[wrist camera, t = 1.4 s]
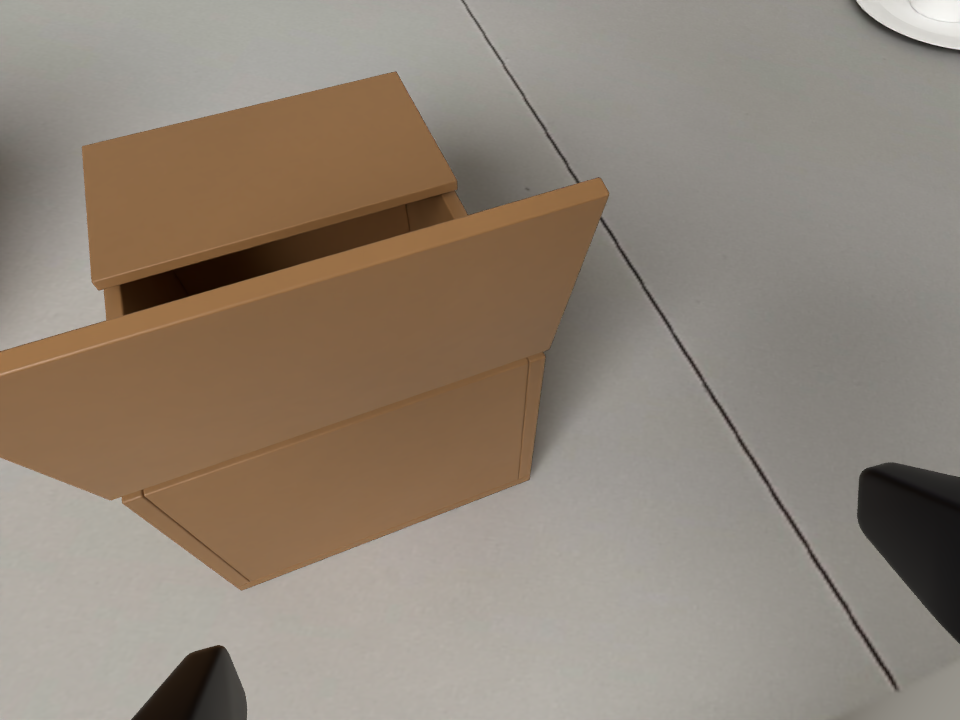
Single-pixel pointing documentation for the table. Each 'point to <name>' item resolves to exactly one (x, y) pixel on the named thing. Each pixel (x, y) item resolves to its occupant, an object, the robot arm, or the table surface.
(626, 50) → the table surface
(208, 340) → the flap
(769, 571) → the table surface
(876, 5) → the candle holder
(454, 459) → the carton
